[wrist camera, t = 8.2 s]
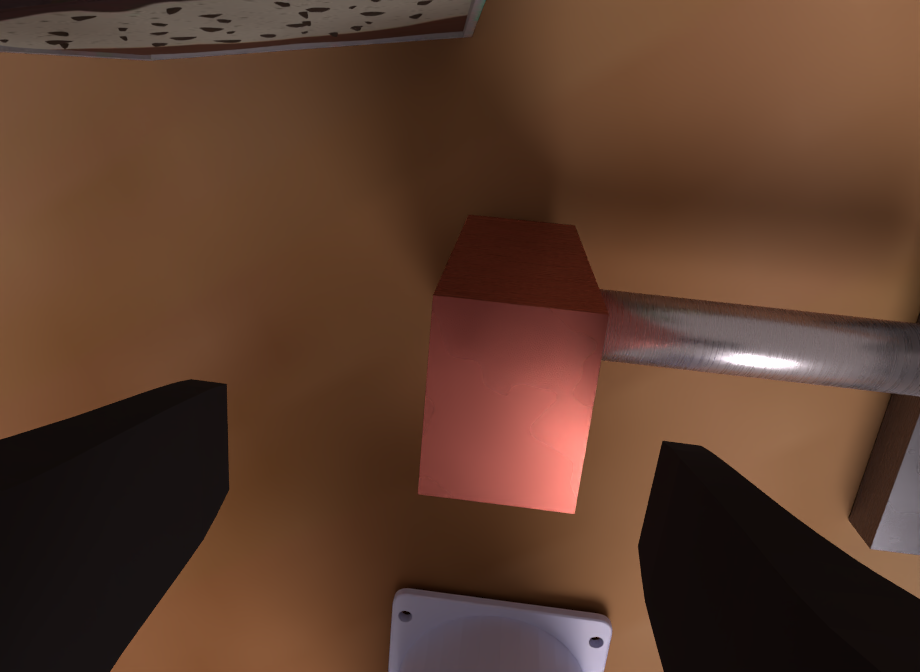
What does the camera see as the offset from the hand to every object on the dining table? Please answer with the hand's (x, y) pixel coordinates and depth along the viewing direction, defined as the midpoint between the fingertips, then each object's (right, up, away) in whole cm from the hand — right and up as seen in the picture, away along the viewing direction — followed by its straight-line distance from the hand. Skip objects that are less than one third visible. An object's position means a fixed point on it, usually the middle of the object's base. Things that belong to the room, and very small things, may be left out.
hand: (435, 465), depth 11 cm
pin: (+7, +3, +8) cm, 11 cm away
